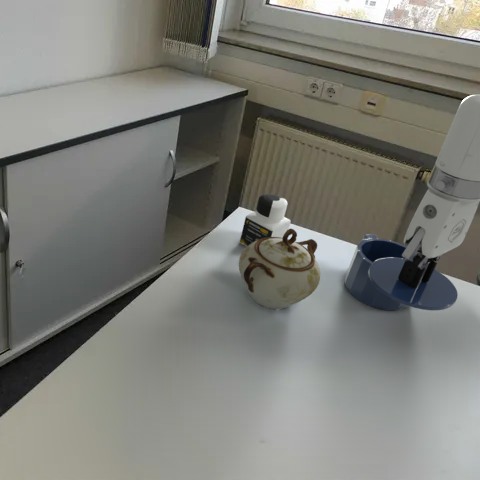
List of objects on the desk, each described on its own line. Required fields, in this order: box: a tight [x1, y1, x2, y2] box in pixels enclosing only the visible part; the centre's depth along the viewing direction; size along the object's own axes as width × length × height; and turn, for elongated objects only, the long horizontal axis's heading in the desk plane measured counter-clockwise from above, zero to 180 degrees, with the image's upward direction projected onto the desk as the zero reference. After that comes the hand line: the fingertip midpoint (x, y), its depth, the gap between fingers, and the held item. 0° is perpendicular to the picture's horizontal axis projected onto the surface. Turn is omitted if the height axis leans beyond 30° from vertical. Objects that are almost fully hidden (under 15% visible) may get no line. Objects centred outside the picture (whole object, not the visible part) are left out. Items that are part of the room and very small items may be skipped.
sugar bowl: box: [238, 228, 321, 310], centre depth 101 cm, size 20×15×15 cm
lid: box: [368, 255, 458, 311], centre depth 89 cm, size 14×14×6 cm
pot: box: [344, 233, 419, 311], centre depth 108 cm, size 13×18×8 cm
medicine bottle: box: [239, 193, 292, 247], centre depth 117 cm, size 7×7×12 cm
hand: (412, 279), depth 90 cm, fingers closed on lid, 2 cm apart
